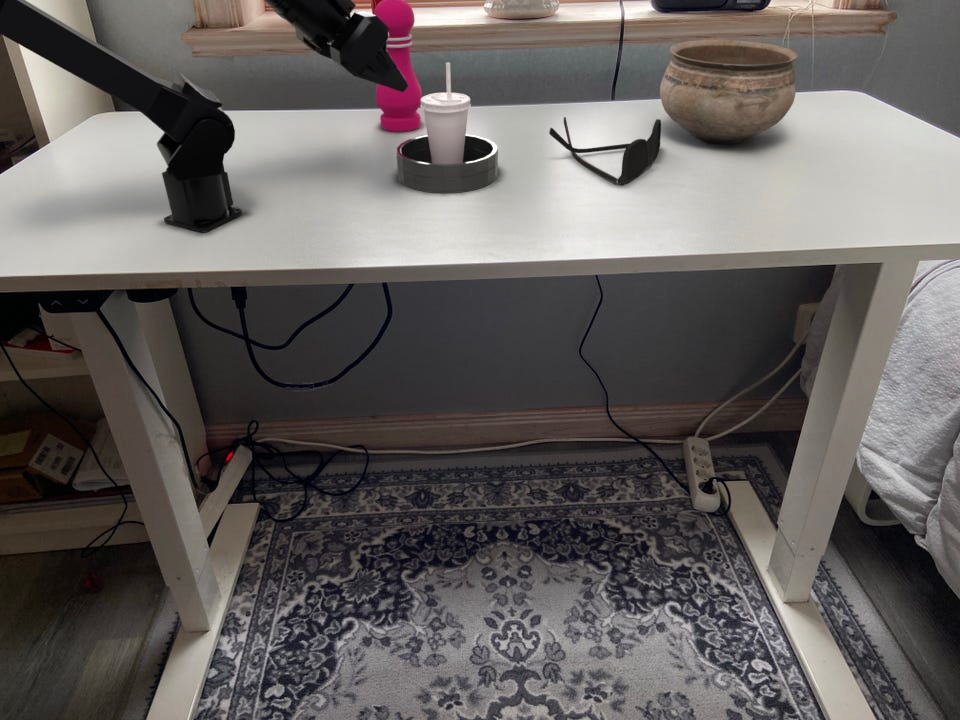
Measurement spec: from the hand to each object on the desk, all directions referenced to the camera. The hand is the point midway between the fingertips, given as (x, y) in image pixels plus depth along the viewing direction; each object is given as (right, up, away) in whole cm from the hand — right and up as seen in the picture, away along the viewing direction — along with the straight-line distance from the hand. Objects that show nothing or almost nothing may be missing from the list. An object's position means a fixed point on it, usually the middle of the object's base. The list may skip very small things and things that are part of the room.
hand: (391, 80), depth 90 cm
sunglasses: (+28, -6, +14) cm, 32 cm away
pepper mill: (-2, +3, +29) cm, 29 cm away
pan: (+6, -9, +10) cm, 15 cm away
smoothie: (+6, -9, +10) cm, 15 cm away
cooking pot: (+47, 0, +23) cm, 52 cm away
